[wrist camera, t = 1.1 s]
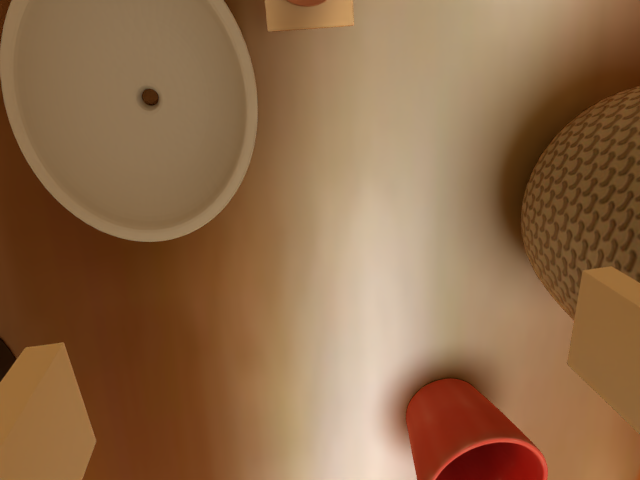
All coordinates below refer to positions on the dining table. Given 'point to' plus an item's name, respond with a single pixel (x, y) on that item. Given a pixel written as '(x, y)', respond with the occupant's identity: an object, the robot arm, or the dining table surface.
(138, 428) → the dining table surface
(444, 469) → the flower pot
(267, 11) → the lever
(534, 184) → the planter
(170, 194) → the dish
